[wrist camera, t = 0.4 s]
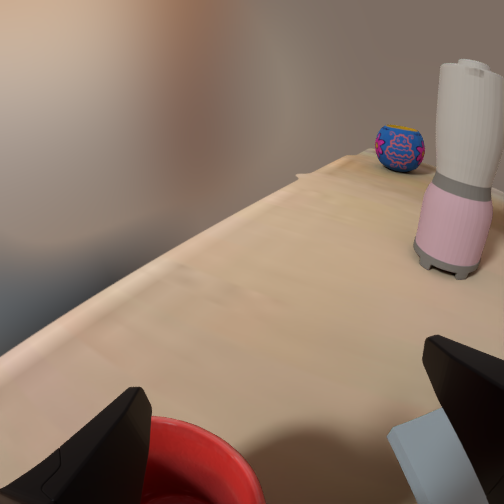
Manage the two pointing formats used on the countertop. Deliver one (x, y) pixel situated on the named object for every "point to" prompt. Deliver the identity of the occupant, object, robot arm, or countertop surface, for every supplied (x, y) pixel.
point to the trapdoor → (435, 461)
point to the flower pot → (195, 468)
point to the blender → (462, 168)
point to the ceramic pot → (399, 148)
